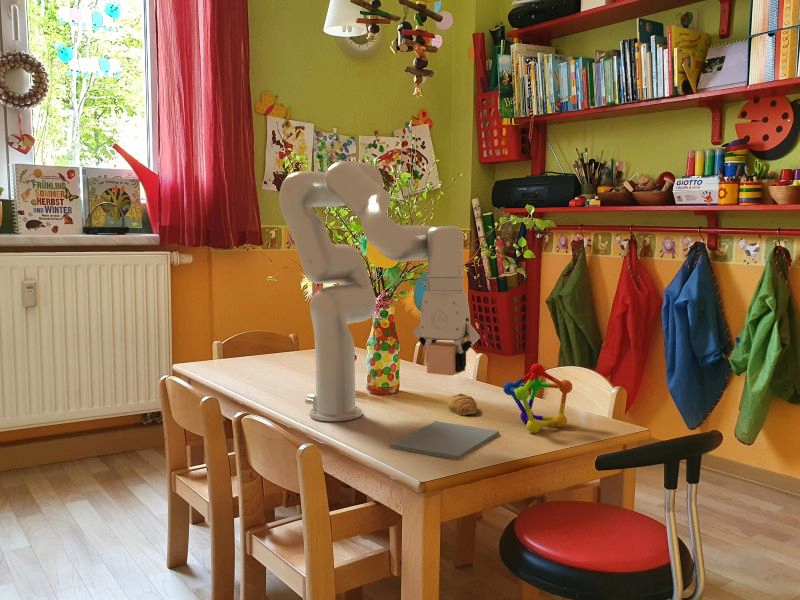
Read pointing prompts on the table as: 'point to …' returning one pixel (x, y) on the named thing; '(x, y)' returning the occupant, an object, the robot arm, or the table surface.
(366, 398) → the table surface
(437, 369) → the cube
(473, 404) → the pastry
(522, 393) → the educational toy
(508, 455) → the table surface
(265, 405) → the table surface
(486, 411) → the table surface
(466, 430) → the mat
